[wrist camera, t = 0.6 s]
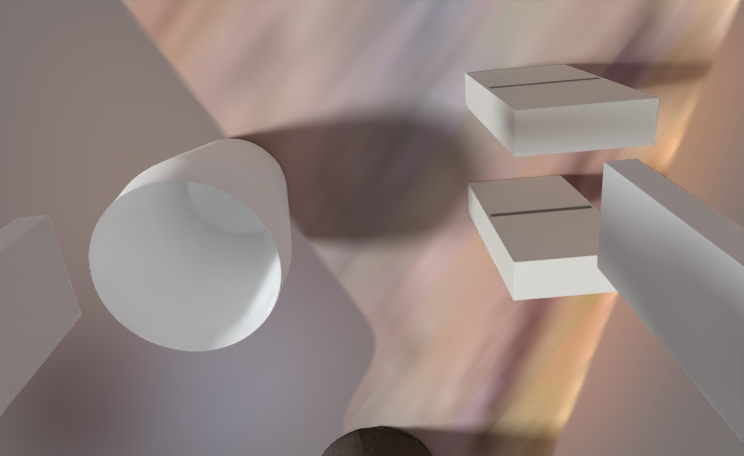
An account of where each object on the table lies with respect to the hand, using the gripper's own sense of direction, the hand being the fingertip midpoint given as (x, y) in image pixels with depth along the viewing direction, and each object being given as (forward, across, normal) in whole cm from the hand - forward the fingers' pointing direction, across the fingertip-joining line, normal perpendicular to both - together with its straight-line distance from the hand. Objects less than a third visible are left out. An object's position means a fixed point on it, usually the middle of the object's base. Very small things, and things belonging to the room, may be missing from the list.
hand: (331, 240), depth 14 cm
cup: (+23, -8, -6) cm, 25 cm away
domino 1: (+23, +10, -1) cm, 25 cm away
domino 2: (+23, +10, -8) cm, 27 cm away
